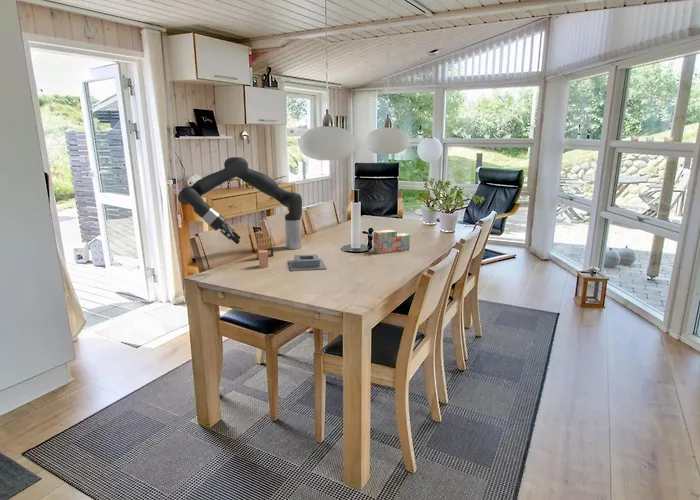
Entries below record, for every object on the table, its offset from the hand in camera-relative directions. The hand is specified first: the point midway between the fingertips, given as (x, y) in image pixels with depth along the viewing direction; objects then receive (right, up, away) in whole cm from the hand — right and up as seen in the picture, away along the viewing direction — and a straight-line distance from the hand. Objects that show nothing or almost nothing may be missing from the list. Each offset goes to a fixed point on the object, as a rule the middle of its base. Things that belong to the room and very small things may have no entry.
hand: (239, 240), depth 222 cm
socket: (+33, -13, +8) cm, 36 cm away
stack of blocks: (+80, -5, +40) cm, 90 cm away
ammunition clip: (+9, -9, +22) cm, 25 cm away
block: (+11, -13, +6) cm, 18 cm away
